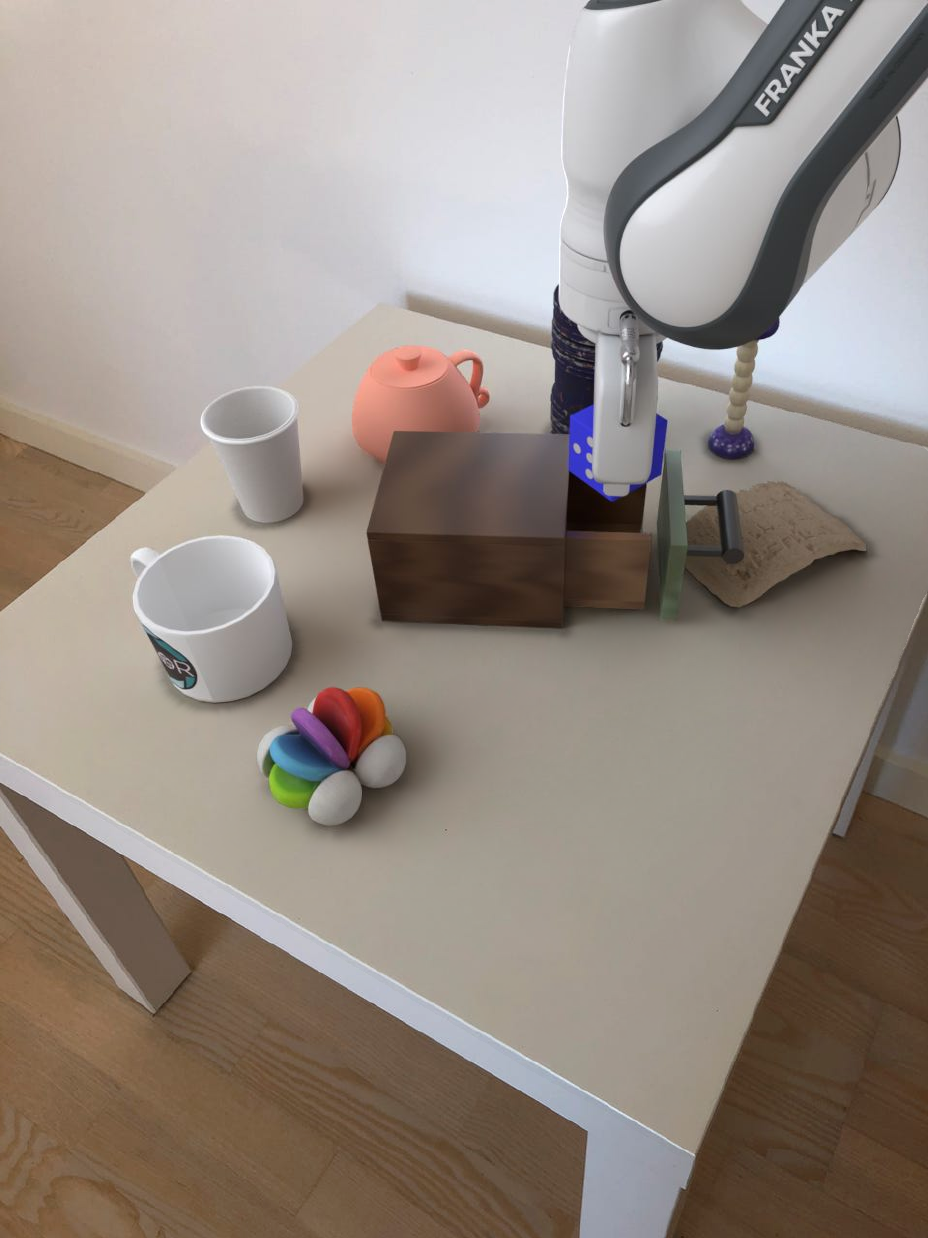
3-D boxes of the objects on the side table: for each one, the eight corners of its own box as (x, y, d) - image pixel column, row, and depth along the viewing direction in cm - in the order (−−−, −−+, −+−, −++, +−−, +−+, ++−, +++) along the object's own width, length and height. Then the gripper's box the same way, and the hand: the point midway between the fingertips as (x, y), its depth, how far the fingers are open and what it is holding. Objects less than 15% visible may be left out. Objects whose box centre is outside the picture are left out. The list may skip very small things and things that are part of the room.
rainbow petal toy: (427, 765, 67) (418, 701, 61) (319, 854, 62) (299, 794, 57) (351, 700, 71) (336, 635, 66) (245, 779, 67) (220, 717, 61)
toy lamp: (755, 463, 88) (790, 296, 75) (703, 461, 88) (730, 294, 76) (752, 433, 91) (785, 267, 79) (703, 430, 91) (728, 266, 79)
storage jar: (573, 480, 87) (578, 333, 77) (534, 422, 94) (534, 280, 83) (670, 454, 89) (689, 308, 78) (626, 400, 96) (638, 258, 85)
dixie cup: (210, 506, 88) (180, 415, 81) (280, 463, 92) (258, 373, 84) (265, 545, 84) (239, 453, 76) (336, 499, 87) (318, 407, 80)
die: (612, 503, 68) (616, 447, 65) (567, 470, 71) (568, 414, 68) (662, 475, 70) (669, 419, 67) (616, 444, 73) (620, 389, 70)
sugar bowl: (338, 429, 95) (321, 337, 88) (464, 390, 99) (458, 299, 91) (383, 497, 87) (369, 403, 80) (518, 452, 91) (516, 358, 83)
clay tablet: (789, 486, 85) (795, 462, 83) (874, 550, 79) (883, 526, 77) (659, 545, 81) (662, 521, 79) (738, 618, 74) (744, 594, 72)
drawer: (725, 525, 81) (739, 450, 75) (736, 622, 73) (753, 547, 67) (513, 519, 83) (512, 446, 77) (503, 613, 75) (500, 539, 69)
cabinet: (568, 523, 83) (571, 433, 76) (562, 628, 75) (565, 538, 68) (405, 519, 85) (393, 430, 78) (381, 621, 76) (365, 531, 69)
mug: (324, 638, 75) (306, 565, 70) (232, 729, 70) (204, 657, 64) (204, 578, 81) (178, 505, 75) (110, 657, 75) (74, 585, 70)
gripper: (688, 366, 52) (664, 551, 62) (673, 206, 66) (655, 379, 76) (573, 365, 53) (567, 548, 63) (582, 207, 67) (576, 378, 77)
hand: (615, 454), depth 70 cm, fingers closed on die, 7 cm apart
